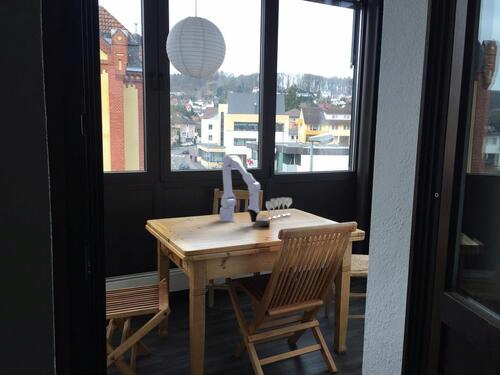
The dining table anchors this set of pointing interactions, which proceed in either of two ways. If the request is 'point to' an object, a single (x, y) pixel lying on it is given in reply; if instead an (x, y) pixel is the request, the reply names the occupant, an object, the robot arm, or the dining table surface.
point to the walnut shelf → (262, 219)
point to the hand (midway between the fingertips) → (253, 222)
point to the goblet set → (278, 204)
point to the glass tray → (262, 223)
